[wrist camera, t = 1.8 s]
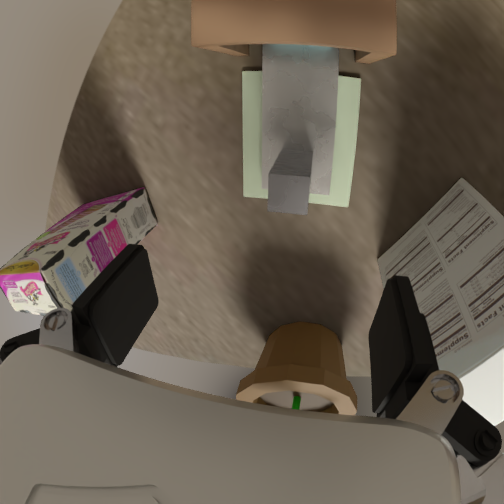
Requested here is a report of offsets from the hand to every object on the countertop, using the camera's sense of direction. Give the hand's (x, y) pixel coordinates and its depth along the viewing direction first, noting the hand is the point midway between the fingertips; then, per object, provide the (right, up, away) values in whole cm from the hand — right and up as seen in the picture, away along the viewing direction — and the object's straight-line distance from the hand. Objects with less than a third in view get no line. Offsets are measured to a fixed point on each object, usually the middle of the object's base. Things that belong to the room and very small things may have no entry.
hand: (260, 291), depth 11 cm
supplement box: (+21, +1, +16) cm, 27 cm away
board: (+4, +11, +14) cm, 18 cm away
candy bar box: (-17, +6, +23) cm, 29 cm away
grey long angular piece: (+4, +16, +11) cm, 19 cm away
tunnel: (+4, +21, +8) cm, 22 cm away
